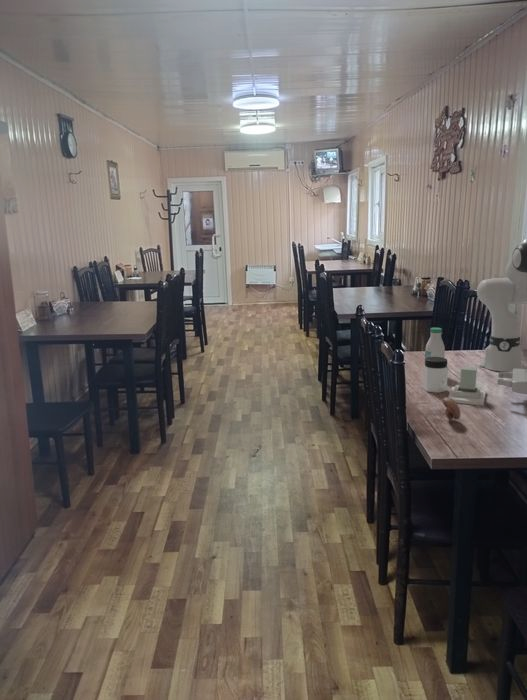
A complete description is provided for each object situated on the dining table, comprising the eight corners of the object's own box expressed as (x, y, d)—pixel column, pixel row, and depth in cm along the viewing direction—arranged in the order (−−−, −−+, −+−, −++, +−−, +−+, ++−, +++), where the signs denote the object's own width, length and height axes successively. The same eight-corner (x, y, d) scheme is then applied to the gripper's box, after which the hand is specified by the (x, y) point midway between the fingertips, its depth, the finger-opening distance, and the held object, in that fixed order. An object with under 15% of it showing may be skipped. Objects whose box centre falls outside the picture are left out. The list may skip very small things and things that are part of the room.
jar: (435, 394, 209) (436, 363, 207) (418, 389, 216) (419, 358, 213) (451, 390, 214) (452, 359, 212) (433, 385, 221) (435, 355, 218)
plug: (460, 394, 209) (462, 365, 206) (474, 396, 207) (476, 367, 204) (459, 398, 204) (461, 369, 202) (473, 400, 202) (476, 370, 200)
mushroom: (441, 416, 186) (443, 393, 184) (461, 418, 184) (463, 395, 182) (438, 423, 179) (440, 399, 178) (459, 426, 177) (460, 401, 175)
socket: (451, 389, 215) (452, 381, 214) (485, 392, 210) (486, 385, 210) (447, 401, 201) (447, 393, 200) (483, 405, 196) (484, 397, 195)
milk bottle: (444, 374, 236) (447, 327, 232) (442, 378, 229) (444, 330, 225) (425, 372, 239) (428, 326, 235) (422, 376, 233) (424, 329, 228)
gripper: (541, 366, 203) (499, 362, 208) (543, 380, 184) (497, 376, 190) (539, 383, 204) (498, 379, 209) (541, 399, 186) (496, 394, 191)
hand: (497, 378), depth 200 cm, fingers open, 8 cm apart
